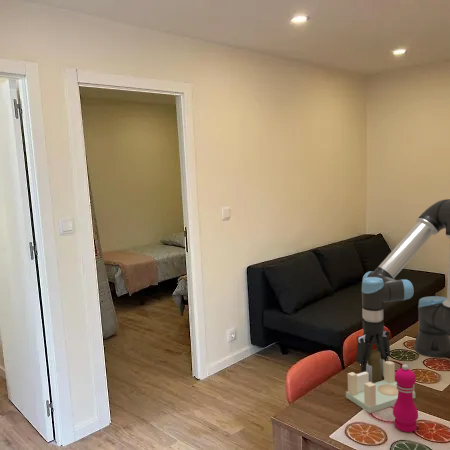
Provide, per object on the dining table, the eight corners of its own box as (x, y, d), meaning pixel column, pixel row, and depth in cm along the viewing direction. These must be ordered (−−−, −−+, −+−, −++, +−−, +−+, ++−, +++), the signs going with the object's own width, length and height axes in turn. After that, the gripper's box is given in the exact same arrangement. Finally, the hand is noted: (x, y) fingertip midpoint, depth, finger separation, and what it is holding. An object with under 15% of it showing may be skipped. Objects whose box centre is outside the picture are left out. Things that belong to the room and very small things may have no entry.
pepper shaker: (383, 382, 166) (383, 354, 165) (366, 381, 168) (365, 353, 166) (381, 374, 172) (380, 347, 171) (364, 374, 173) (364, 347, 172)
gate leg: (365, 387, 159) (364, 368, 158) (369, 389, 157) (369, 370, 156) (348, 392, 156) (347, 373, 155) (352, 395, 154) (351, 375, 153)
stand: (389, 383, 165) (389, 357, 164) (415, 397, 154) (415, 370, 153) (345, 397, 157) (345, 370, 156) (369, 413, 146) (369, 384, 145)
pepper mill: (388, 421, 141) (388, 360, 139) (411, 418, 142) (410, 358, 140) (399, 434, 134) (399, 370, 132) (422, 432, 135) (422, 368, 132)
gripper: (386, 311, 174) (386, 368, 177) (344, 321, 166) (345, 379, 169) (400, 317, 168) (401, 375, 170) (358, 327, 160) (359, 388, 162)
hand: (373, 377), depth 170 cm, fingers open, 7 cm apart
